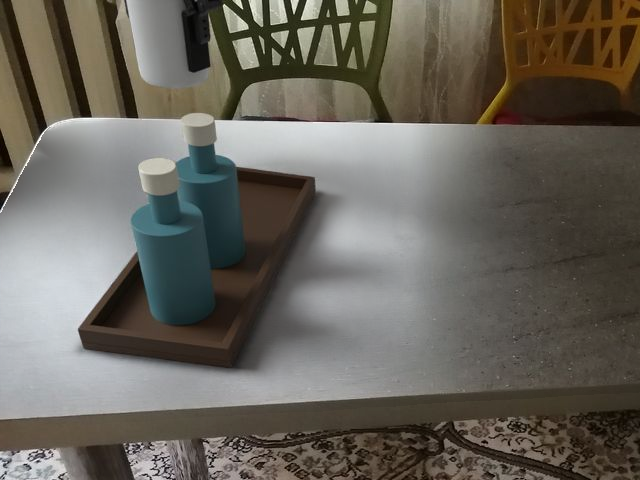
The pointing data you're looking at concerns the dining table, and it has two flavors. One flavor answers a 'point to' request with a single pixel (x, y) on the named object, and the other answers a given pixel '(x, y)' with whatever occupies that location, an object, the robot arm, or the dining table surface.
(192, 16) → the robot arm
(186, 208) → the bottle
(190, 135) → the bottle
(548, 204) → the dining table surface
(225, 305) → the tray
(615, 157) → the dining table surface
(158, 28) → the pill bottle
